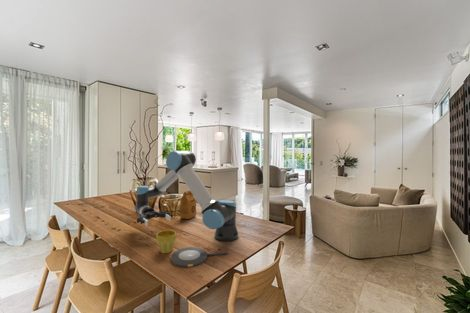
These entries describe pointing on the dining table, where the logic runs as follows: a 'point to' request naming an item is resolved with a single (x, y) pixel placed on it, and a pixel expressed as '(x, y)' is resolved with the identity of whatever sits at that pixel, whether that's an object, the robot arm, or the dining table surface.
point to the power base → (191, 256)
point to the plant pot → (166, 240)
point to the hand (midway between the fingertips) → (159, 221)
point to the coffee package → (188, 205)
